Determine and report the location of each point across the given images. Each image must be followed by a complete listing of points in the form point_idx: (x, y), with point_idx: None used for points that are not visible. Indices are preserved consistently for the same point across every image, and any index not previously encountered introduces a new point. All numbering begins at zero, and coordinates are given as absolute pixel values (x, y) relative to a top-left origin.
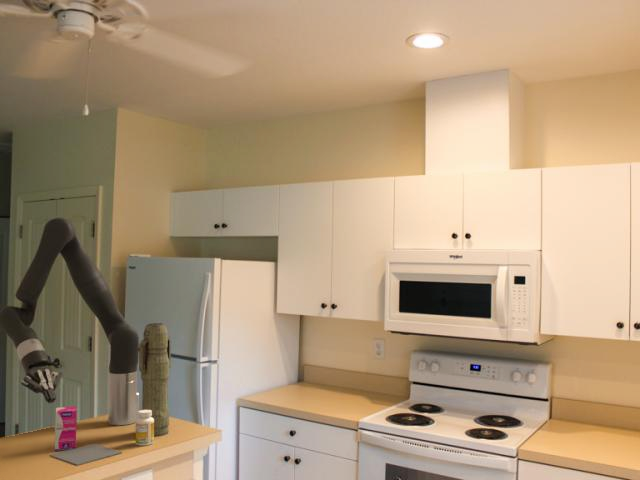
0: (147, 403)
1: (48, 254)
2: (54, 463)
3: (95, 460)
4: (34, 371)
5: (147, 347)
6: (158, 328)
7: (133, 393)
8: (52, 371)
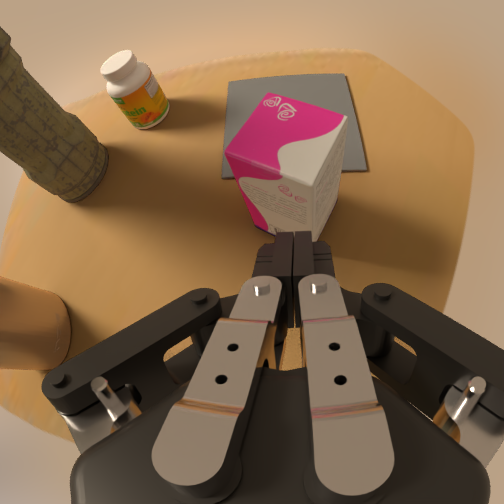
0: (57, 111)
1: None
2: (378, 115)
3: (299, 76)
4: None
5: None
6: None
7: None
8: (108, 445)
